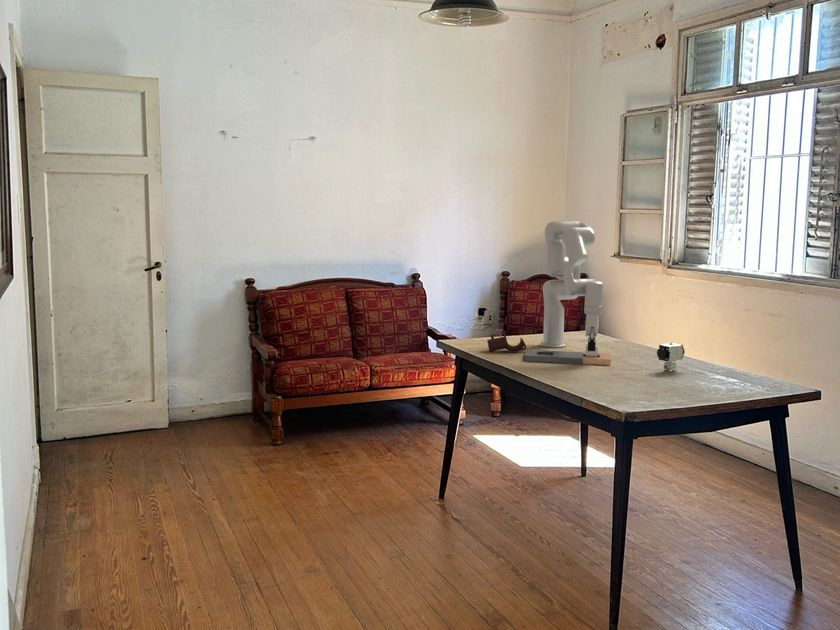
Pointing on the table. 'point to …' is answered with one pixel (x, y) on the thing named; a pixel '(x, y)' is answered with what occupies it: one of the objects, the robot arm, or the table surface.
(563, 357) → the grey copper flat plate
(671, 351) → the pneumatic valve
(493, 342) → the bracket
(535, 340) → the table surface
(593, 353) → the grey rectangular block
